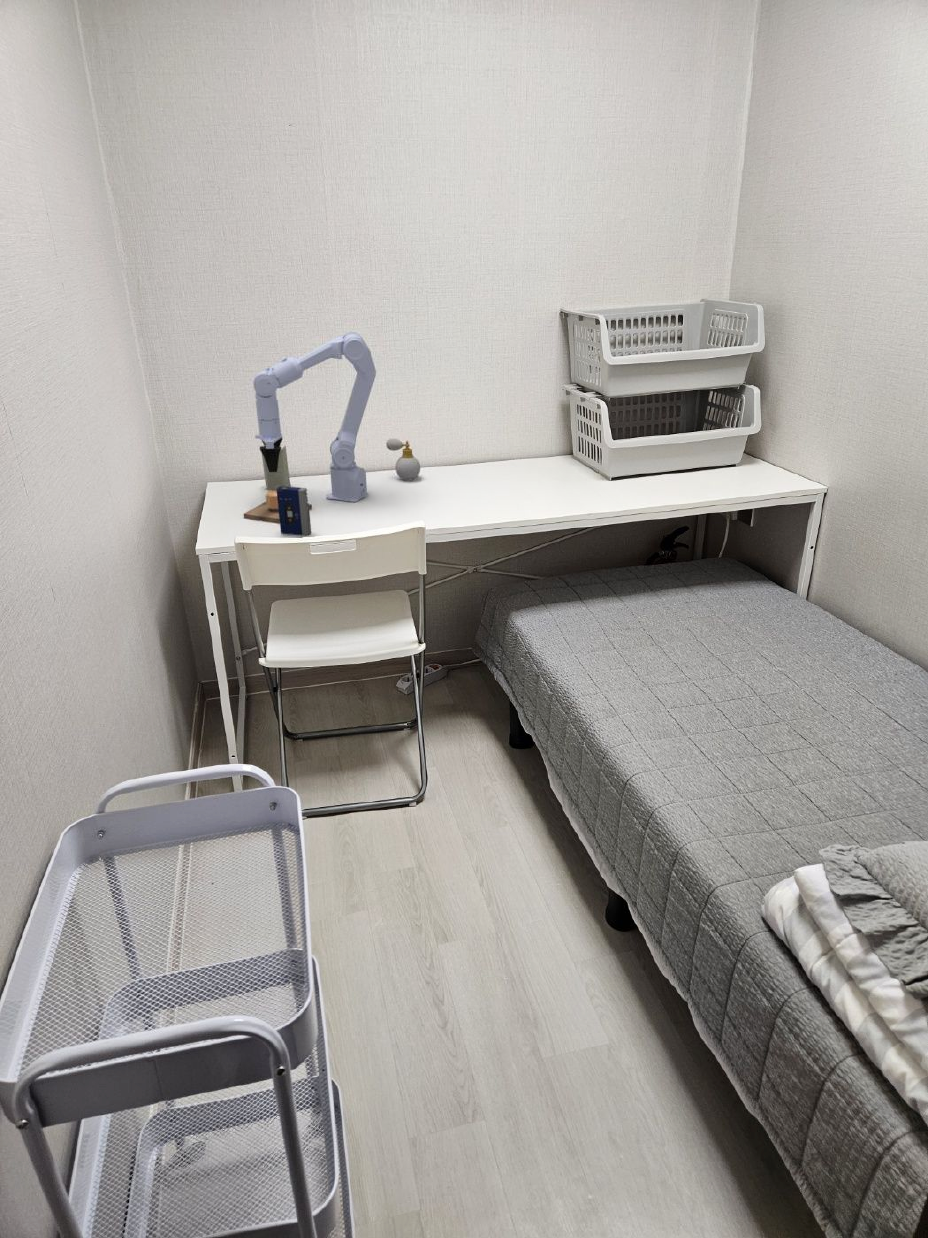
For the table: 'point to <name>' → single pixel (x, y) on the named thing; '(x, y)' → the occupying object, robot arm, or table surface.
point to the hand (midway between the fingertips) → (273, 467)
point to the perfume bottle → (404, 460)
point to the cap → (272, 499)
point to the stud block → (265, 513)
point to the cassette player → (293, 510)
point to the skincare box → (281, 475)
